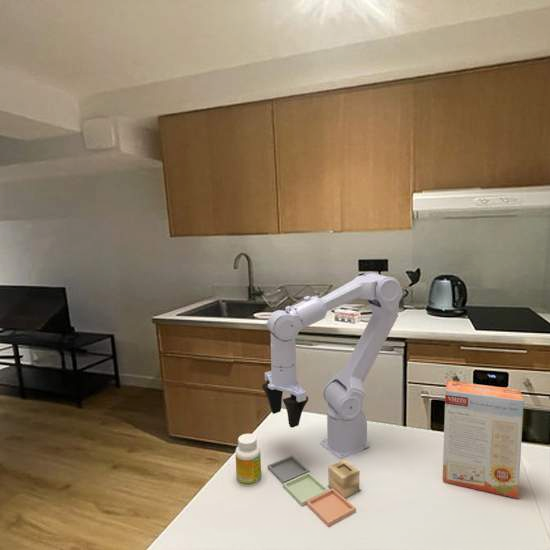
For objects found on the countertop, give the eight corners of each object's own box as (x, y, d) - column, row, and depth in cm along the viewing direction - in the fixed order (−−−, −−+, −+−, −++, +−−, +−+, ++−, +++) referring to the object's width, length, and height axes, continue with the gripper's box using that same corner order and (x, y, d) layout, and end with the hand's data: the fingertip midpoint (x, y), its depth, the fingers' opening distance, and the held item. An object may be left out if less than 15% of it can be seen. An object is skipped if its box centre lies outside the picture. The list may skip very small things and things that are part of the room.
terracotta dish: (332, 492, 82) (332, 488, 82) (355, 513, 77) (355, 508, 76) (306, 506, 79) (306, 501, 79) (328, 528, 73) (328, 523, 73)
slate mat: (345, 478, 87) (345, 477, 87) (361, 491, 82) (361, 490, 82) (327, 487, 84) (327, 486, 84) (343, 501, 80) (343, 500, 80)
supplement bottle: (258, 489, 84) (256, 446, 83) (233, 486, 85) (231, 444, 84) (263, 473, 89) (262, 432, 88) (240, 470, 90) (238, 430, 89)
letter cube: (344, 478, 86) (344, 459, 86) (359, 490, 82) (359, 470, 82) (328, 486, 84) (328, 466, 83) (342, 498, 80) (342, 478, 79)
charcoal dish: (292, 459, 94) (292, 455, 94) (309, 474, 88) (309, 470, 88) (267, 469, 90) (267, 465, 90) (283, 486, 85) (283, 481, 85)
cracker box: (514, 481, 84) (521, 388, 81) (518, 500, 79) (525, 401, 76) (442, 466, 90) (446, 378, 87) (441, 482, 85) (445, 389, 82)
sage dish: (308, 476, 88) (308, 472, 87) (328, 494, 82) (328, 489, 82) (283, 488, 84) (282, 483, 84) (301, 507, 78) (301, 502, 78)
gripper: (252, 357, 95) (254, 411, 97) (286, 377, 83) (287, 438, 85) (277, 351, 99) (279, 403, 101) (313, 370, 87) (314, 428, 89)
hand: (284, 418), depth 93 cm, fingers open, 7 cm apart
